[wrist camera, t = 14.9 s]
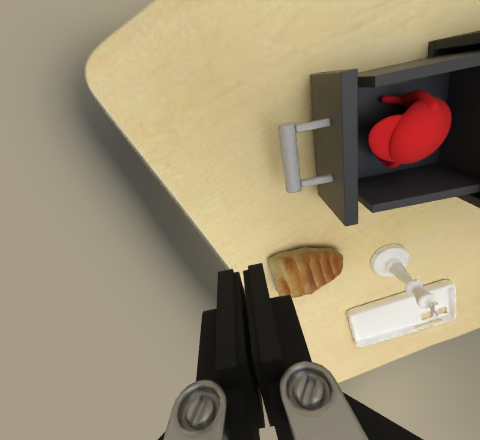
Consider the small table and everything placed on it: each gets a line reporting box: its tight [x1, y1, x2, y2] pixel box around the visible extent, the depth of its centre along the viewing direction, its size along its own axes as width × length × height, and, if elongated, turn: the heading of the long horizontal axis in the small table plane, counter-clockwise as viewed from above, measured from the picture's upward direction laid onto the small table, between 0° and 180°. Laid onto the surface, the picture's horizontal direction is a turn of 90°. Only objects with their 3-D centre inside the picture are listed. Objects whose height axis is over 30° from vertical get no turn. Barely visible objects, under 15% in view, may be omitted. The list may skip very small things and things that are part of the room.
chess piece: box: [370, 244, 443, 317], centre depth 33 cm, size 5×5×10 cm
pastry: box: [268, 247, 343, 298], centre depth 35 cm, size 9×7×4 cm
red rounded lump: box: [368, 90, 452, 168], centre depth 25 cm, size 8×6×6 cm
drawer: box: [278, 49, 480, 226], centre depth 25 cm, size 18×12×8 cm
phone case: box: [346, 280, 456, 348], centre depth 41 cm, size 7×1×15 cm
